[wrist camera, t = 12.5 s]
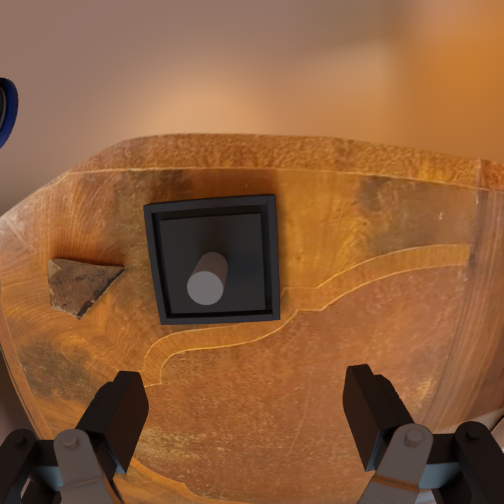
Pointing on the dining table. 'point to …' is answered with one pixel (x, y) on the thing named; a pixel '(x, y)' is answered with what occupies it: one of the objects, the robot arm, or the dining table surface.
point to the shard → (78, 284)
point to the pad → (224, 241)
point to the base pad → (214, 207)
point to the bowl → (499, 434)
